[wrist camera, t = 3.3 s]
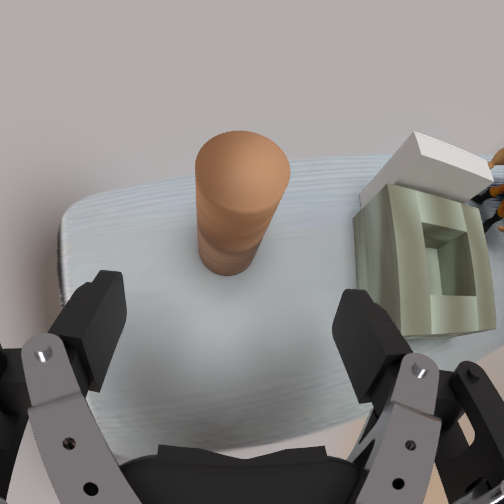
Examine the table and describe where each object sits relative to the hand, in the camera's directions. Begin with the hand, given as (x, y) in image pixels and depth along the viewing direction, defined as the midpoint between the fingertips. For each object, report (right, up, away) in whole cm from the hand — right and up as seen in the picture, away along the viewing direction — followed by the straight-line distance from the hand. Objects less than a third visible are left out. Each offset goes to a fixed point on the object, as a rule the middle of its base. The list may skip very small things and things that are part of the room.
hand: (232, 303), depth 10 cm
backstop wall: (+14, +5, +14) cm, 21 cm away
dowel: (-1, +2, +11) cm, 11 cm away
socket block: (+14, -1, +12) cm, 19 cm away
